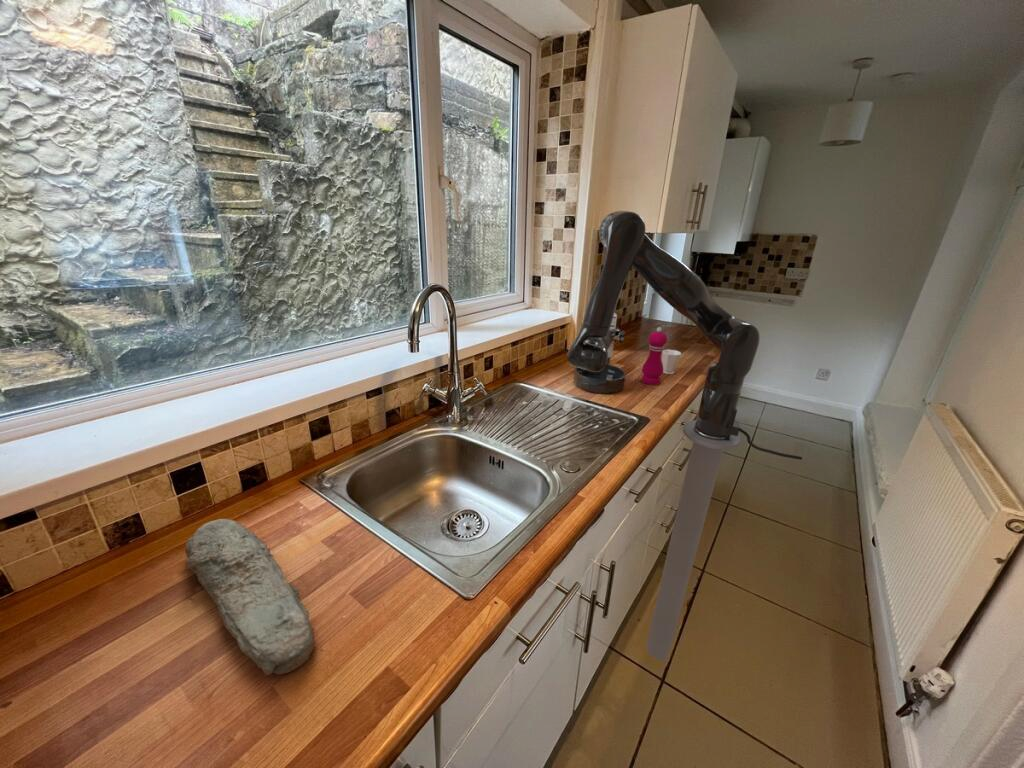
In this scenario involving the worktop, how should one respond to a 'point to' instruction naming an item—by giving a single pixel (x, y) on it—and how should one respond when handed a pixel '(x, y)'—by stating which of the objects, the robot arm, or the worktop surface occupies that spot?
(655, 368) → the pepper mill
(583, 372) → the pan
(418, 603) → the worktop surface
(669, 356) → the cup
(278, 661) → the long grey stone
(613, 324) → the syrup box
